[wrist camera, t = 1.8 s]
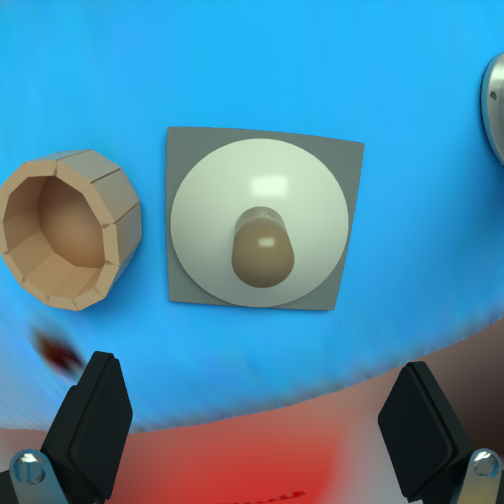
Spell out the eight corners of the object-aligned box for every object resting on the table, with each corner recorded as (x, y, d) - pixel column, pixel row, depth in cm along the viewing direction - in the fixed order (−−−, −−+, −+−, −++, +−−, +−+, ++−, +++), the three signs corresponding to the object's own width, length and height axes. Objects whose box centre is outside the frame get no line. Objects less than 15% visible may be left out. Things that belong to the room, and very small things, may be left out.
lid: (357, 149, 21) (389, 160, 16) (329, 305, 27) (346, 349, 21) (174, 134, 21) (149, 140, 16) (175, 296, 26) (159, 340, 21)
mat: (360, 142, 22) (364, 143, 21) (331, 304, 28) (334, 310, 27) (170, 126, 21) (167, 127, 21) (171, 294, 27) (169, 300, 26)
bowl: (144, 146, 22) (113, 157, 17) (148, 277, 26) (126, 318, 21) (31, 152, 22) (-13, 166, 16) (45, 267, 26) (12, 299, 21)
